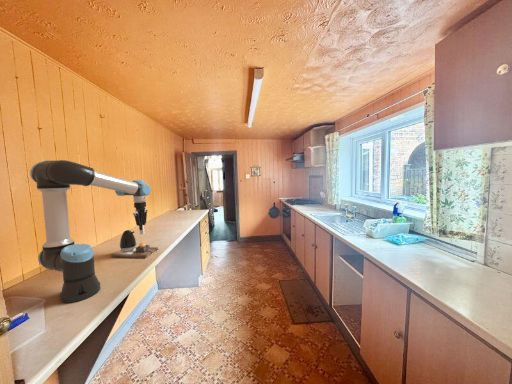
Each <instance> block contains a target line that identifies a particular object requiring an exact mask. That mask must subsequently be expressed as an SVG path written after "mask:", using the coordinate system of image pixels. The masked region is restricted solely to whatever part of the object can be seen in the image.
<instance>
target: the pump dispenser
mask: <svg viewBox="0 0 512 384" xmlns="http://www.w3.org/2000/svg"><path fill="white" fill-rule="evenodd" d="M134 233H135V231H131V230H130V229H126V230H124V231H123V233H122V234H121V237H120V240H119V241H120V242H119V248H120V250H122V251H124V252H129V251H132V250H134V249H135V247H137V241H136V238H135V237H136V236H135V235H134Z"/></svg>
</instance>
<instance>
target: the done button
mask: <svg viewBox="0 0 512 384" xmlns="http://www.w3.org/2000/svg"><path fill="white" fill-rule="evenodd" d="M138 245H139V246H140V248H144V247H146V245H147V244H146V242H141V243H139V244H138Z"/></svg>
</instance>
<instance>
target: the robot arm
mask: <svg viewBox="0 0 512 384" xmlns="http://www.w3.org/2000/svg"><path fill="white" fill-rule="evenodd" d="M29 173H30V177H31V179H32V181H33V182H35V183H36V189H37V190H38V191H39V192H41V195H42V206H43V207H42V208H43V218H44V228H45V239H46V241H45V242H44V243H43V244H42V245H41V246H42V247H41V248H42V249H41V251H40V252H39V254H38V259H37V260H38V263H39V265H40V266H42V267H43V268H45V269H47V270H49V271H56V272H61V273H62V278H63V279H62V280H63V283H62V288H61V291H60V294H59V301H60V302H61V303H64V304H70V303H77V302H80V301H83V300H87V299H88V298H91V297H94V296H95V295H96V294H98V293H99V292H100V290H101V283H100V281H99V279H98V277H97V275H96V272H95V268H96V267H95V257H94V255H95V253H94V249H93V246H92V245H91V244H87V243H75V239H73V238H71V233H70V222H69V209H68V208H69V207H68V197H67V192H68V190H69V189H71V185H72V186H73V185H74V186H75V185H76V186H83V187H89V186H92V187H93V186H94V187H98V188H102V189H103V188H104V189H108V190H112V191H114V192H115V194H116V195H117V196H119V197H125V196H133V208H134V209H135V212H134V213H132V214H133V217H134V220H135V224H136V226H137V227H138V229H139V235H145V234H146V233H145V231H146V230H145V226H146V224H147V217H148V209H146V207H147V199H146V196H149V195H150V194H151V191H152V188H151V186H150V185H149V184H147V183H145V180H142V179H135V180H130V179H129V180H128V179H125V178H121V177H118V176H114V175H111V174H107V173H103V172H100V171H97V170H95V169H94V167H90V166H87V165H84V164H81V163H77V162H75V161H72V160H71V161H70V160H66V159H60V160H59V159H57V160H44V161H41V162H40V161H39V162H37V163H35V164H34V165H33V166H32V167H31V169H30V172H29Z"/></svg>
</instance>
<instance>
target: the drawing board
mask: <svg viewBox="0 0 512 384" xmlns="http://www.w3.org/2000/svg"><path fill="white" fill-rule="evenodd" d="M157 250H158V251H159V247H158V246H155V247H154V246H153V247H152V246H151V245H150V244H146V247H144V248H140V246H136V247H135V249H134V250H132V251H129V252H124V251H122V250H121V249H120V250H118V251H115V252H114V253H112V254H111V255H110V256H111V259H145V258H146V259H147V258H149V257H150V256H152V255H153V254H155V253H156V252H158V251H157ZM155 251H156V252H155ZM154 252H155V253H154ZM152 253H153V254H152ZM151 254H152V255H151ZM148 256H149V257H148Z"/></svg>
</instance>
